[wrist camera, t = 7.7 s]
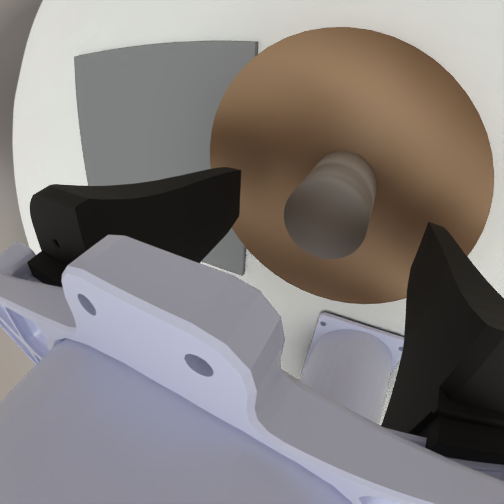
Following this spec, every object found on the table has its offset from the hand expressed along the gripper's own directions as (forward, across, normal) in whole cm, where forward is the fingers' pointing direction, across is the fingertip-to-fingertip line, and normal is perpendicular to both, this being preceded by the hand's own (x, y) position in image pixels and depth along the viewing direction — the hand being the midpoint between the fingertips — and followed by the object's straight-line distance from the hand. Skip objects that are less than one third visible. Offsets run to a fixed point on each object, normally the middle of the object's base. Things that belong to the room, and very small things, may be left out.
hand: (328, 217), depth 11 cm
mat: (+9, +16, +3) cm, 18 cm away
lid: (+4, 0, 0) cm, 4 cm away
